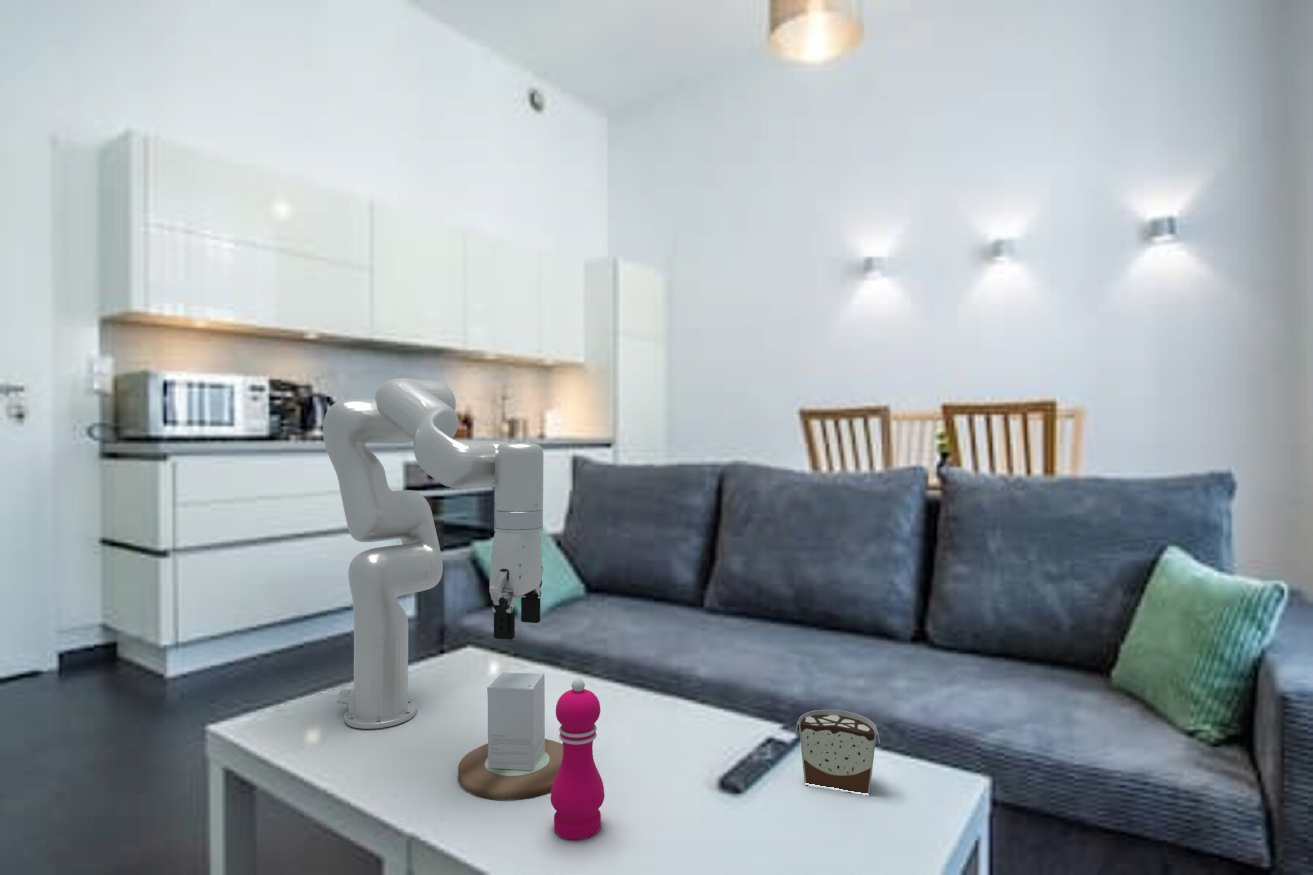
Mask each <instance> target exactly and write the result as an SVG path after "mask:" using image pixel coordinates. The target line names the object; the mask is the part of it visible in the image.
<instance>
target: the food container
mask: <svg viewBox="0 0 1313 875" xmlns="http://www.w3.org/2000/svg"><path fill="white" fill-rule="evenodd" d="M795 727H796V728H795V733H796V732H799V740H800V748H801V749H800V750H801V760H802V768H803V769H802V770H803V779H804V784H805V783H809V784H815V785H820V786H826V787H834V788H839V789H843V790H848V791H854V792H861V793H868V794H869V795H870V792H871V786H872V785H871V782H872V776H873V766H874V758H875V757H874V756H875V749H876V743H877V742H876V741H877V740H878V744H881V740H880V736H879V731H878V729H877V725H876V724H875V723H874V722H873V721H872V720H870V719H869V718H868V717H865V716H863V715H860V714H858V713H854V712H849V711H847V710H846V711H845V710H840V709H839V710H838V709H818V710H812V711H808V712H805V713H803V714H801V716H800V717H798V720H797V721H796V726H795ZM798 730H799V731H798Z"/></svg>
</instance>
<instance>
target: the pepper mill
mask: <svg viewBox="0 0 1313 875" xmlns="http://www.w3.org/2000/svg"><path fill="white" fill-rule="evenodd" d="M585 686H586V684H585V681H584V680H583V679H581V678H579V677H578V678H575V679H574V680H573V681H572V682H571V689H569V690H567V691H565V692H564V693H562V694H561V696H560V697H559V698H558V700H557V702H556V704H555V705H556V706H555V717H556V719H557V721H558V723H559V724H560V726H559V728H558V731H559V735H558V738H559V740H560V741H561V742H562V744H563V758H562V762H561V766H560V768H559V770H558V772H557V774H556V777H555V779H554V782H553V785H552V789H551V792H550V803H551V805H552V807H553V809H554V810H555V813H554V815H553V819H554V820H553V830H554V832H555V833H556V835H558V836H559V837H560V838H563V839H566V840H575V841H577V840H584V839H588V838H591V837H593V836H594V835H596V834H597V833H598V832H599V831H600V829H601V823H602V822H601V821H602V820H601V818H602V815H601V814H602V813H601V811H600V808H601V807H602V806H603V803H604V801H605V787H604V782H603V780H602V777H601V773H600V772H599V770H598V767H597V766H596V762H595V760H594V755H593V752H594V751H593V747H594V740H595V739H597V734H598V733H597V730H598V729H597V725H596V722H597V721H598V719H599V718H600V715H601V703H600V700H599V697H598V696H597V695H596V694H595V693H594V692H592V691H591V690H589V689H586V688H585Z"/></svg>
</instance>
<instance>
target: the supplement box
mask: <svg viewBox="0 0 1313 875" xmlns="http://www.w3.org/2000/svg"><path fill="white" fill-rule="evenodd" d="M545 687H546V686H545V673H535V672H534V673H533V672H532V673H531V672H529V673H528V672H527V673H526V672H508V671H507V672H506V671H503V672H501V673H500V674H499V675H498V676H497V678H495V680H493V682H492V683H491V684H489V685H488V687H487V688H486V689H487V690H486V691H487V744H488V768H495V769H515V770H533V769H534V768H535V766H536V764H537V763H538V761H539V760H540V758H541V756H542V755H543V753H544V751H545V739H546V738H545V736H546V728H545V726H546V725H545V723H546V721H545V719H546V714H545V712H546V709H545V708H546V707H545V705H546V704H545V697H546V696H545V694H546V692H545V689H546V688H545Z"/></svg>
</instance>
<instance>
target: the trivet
mask: <svg viewBox="0 0 1313 875" xmlns="http://www.w3.org/2000/svg"><path fill="white" fill-rule="evenodd" d="M562 758H563V743H561V742H558V741H555V740H551V739H547V738H545V751H544V753H543V755H542V756H541V758H540V760H539V761H538V763H537V764H536V766H535V768H534V769H533V770H515V769H495V768H488V743H486V744H483V745H481V746H478V747H476V748H474V749H473V750H470V751H469V752H468V753H467V754H465V755H464V756H463V757H462V758H461V760H460V761H459V764H458V767H457V780H458V784H459V786H460V787H461V788H462V789H463V790H464V791H466V792H467V793H469V794H471V795H473V796H476V797H478V798H483V799H488V800H493V801H494V800H495V801H519V800H525V799H527V800H528V799H533V798H535V797H536V798H537V797H541V796H543V795H546V794H550V793H551V789H552V785H553V782H554V779H555V777H556V774H557V772H558V770H559V768H560V766H561V762H562Z"/></svg>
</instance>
